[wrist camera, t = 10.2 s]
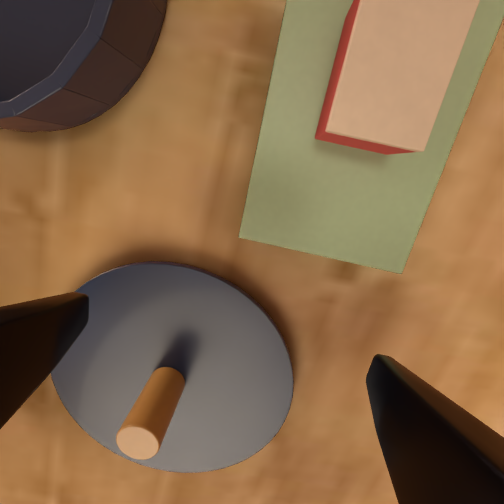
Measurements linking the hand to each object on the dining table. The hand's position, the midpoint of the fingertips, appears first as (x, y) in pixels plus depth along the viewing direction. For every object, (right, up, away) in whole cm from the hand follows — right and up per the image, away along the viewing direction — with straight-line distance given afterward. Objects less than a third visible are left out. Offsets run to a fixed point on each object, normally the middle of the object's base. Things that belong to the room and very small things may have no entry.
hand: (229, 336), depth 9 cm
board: (+7, +11, +7) cm, 15 cm away
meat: (+6, +11, +6) cm, 14 cm away
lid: (-6, -7, +13) cm, 16 cm away
